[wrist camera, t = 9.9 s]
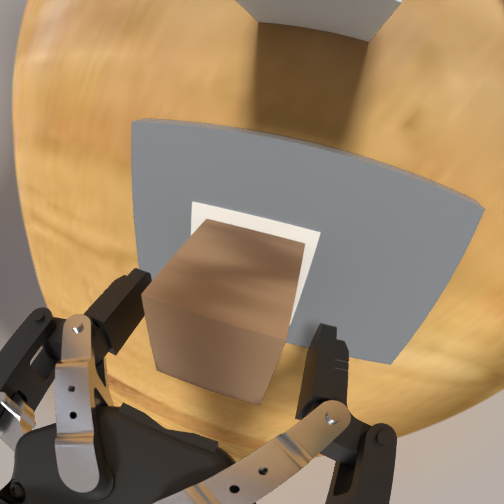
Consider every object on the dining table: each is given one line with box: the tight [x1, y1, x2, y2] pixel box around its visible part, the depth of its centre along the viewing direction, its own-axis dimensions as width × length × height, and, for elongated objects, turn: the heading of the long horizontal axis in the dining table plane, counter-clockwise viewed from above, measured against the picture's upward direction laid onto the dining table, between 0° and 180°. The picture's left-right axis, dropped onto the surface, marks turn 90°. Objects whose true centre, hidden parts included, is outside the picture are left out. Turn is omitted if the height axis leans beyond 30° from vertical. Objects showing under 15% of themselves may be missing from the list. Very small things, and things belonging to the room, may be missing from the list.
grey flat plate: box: [131, 118, 485, 365], centre depth 15 cm, size 18×12×1 cm, turn 82°
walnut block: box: [141, 219, 305, 405], centre depth 12 cm, size 5×5×6 cm
